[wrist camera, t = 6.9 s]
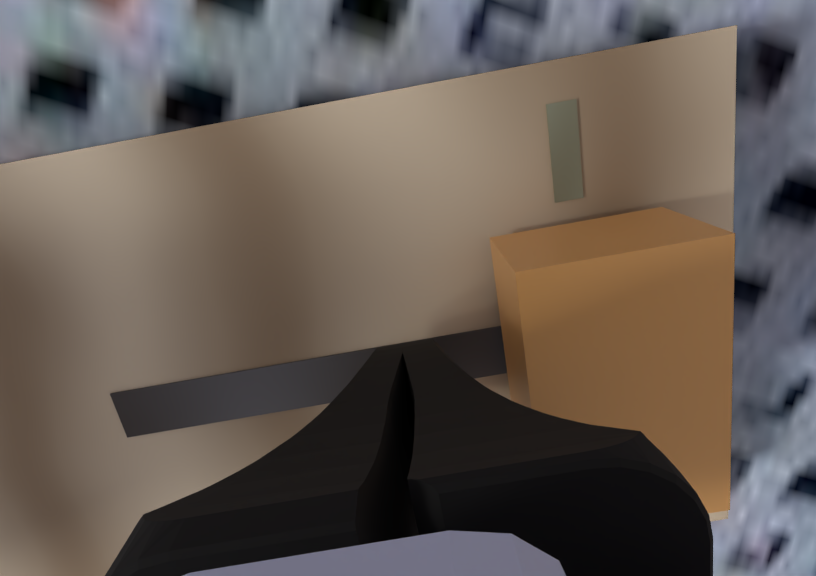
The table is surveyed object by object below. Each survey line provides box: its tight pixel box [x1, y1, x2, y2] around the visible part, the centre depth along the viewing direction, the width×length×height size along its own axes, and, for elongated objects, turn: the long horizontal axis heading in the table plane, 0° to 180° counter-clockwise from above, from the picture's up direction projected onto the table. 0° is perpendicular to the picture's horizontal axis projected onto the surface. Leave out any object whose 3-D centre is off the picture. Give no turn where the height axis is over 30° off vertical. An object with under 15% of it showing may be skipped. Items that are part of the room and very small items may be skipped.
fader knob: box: [490, 207, 735, 513], centre depth 11 cm, size 4×6×2 cm, turn 10°
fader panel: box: [0, 25, 737, 576], centre depth 14 cm, size 22×12×2 cm, turn 100°
